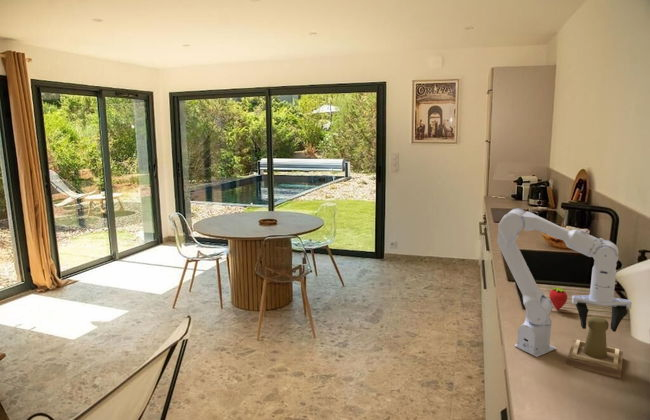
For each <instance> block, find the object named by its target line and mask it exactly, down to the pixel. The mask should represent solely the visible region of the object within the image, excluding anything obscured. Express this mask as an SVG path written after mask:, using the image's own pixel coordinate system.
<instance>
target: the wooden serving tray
mask: <svg viewBox="0 0 650 420" xmlns="http://www.w3.org/2000/svg"><path fill="white" fill-rule="evenodd" d="M585 342H586V340H581V339H576V340H574V339H573V340H572V343H571V346H570V348H569V352H568V355H567V360H566V365H567V366H571V367H574V368H579V369H583V370H586V371H590V372H594V373H598V374H602V375H607V376H609V377H613V376H614V377H613V378H617V377H618V379H620V378H621V377H622V371H623V370H622V369H623V360H624V359H623V358H624V351H621V350H620V349H619V348H616V347H612V346H608V345H607V357H606V358H604V359H598V358H593V357H590V356H588V355H586V354H585V353H584V352H583V350H584V346H585Z"/></svg>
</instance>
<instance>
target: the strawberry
mask: <svg viewBox="0 0 650 420" xmlns="http://www.w3.org/2000/svg"><path fill="white" fill-rule="evenodd" d="M549 289H550V291H549V294H548V295H549V300H550V301H551V302H552V305H553V307H554V308H555V309H556V310H557V311H559V310H561V308H563V307H564V305H565V304H566V303H567V302H568V301H567V300H568V294H567V292H566V289H565V288H560V286H558V287H557V288H555V287H550V288H549Z"/></svg>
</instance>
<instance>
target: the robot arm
mask: <svg viewBox="0 0 650 420" xmlns="http://www.w3.org/2000/svg"><path fill="white" fill-rule="evenodd" d="M497 225H498V226H497V228H498V230H497V231H498V232H497V239H496V243H497V246H498V249H499V250H500V252H501V255H502V257H503V258H504V261H505V262H506V265H507V267H508V268H509V271H510V273H511V275H512V277H513V279H514V280H515V282H516V284H517V286H518V288H519V290H520V293H521V295H522V301H523V306H524V308H525V319H524V322H523V323H522V324H521V325H519V326H518V330H517V341H516V343H515V344H514V347H515V348H517V349H519V350H522V351H523V352H526V353H528V354H530V355H532V356H534V357H536V358H538V357H540V356H542V355H545V354H547V353H550V352H552V351H555V350H556V349H557V348H556V346H553V345H552V344H551V336H552V335H551V334H552V319H551V317H550V314H551V312H552V311H553V307H554V305H553V303H552V302H551V300H550V298H549V297H547V296H546V295H545V293H544V292H543V290H542V289H541V288H539V286H538V284H537V282H536V281H535V278H534V276H533V274H532V272H531V270H530V268H529V266H528V265H527V262H526V260H525V258H524V256H523V254H522V252H521V250H520V248H519V245H518V244H517V242H516V241H517V239H518V237H519V235H520V232H521V231H522V230H523V229H524V230H523V231H524V232H530V231H539V232H541V233H543V234H546V235H548V236H551V237H552V238H553V237H554V238H556V239H559V240H562V241H563V242H564V244H565V247H567V248H568V249H571V250H573V251H575V252H578V253H580V254H582V255H584V256H586V257H589V258H593V260H594V261H593V266H592V269H591V278H590V279H591V280H590V289H589V294H584V295H583V294H581V295H571V304H573V305H575V307H576V309H577V313H578V315H579V319H580V326H581V328H582V329H583V330H586V329H587V320H588V319H587V317H588V313H589V308H588V305H591V306H604V307H611V319H610V320H611V322H610V330H611V331H612V332H613V333H614V332H615V333H616V332H617V329H618V327H619V325H620V323H621V322H622V320H623V319H624V317H626V316H627V314H628V311H629V310H628V309H630V310H631V309H632V305H633V304H632V301H631V300H630V299H625V298H619V297H615V295H614V294H615V288H616V287H615V286H616V279H617V269H616V268H617V263H618V261H619V258H620V257H619V248H618V246H617V245H616V244H615V243H614V242H612V241H611V240H609V239H606V240H605V239H604V238H602V237H600V238H597V237H595V236H594V235H591V234H588V233H587V231H586V229H585V230H584V229H580V230H579V229H578V228H577V229H571V230H569V229H567V228H565V227H562V226H560V225H558V224H556V223H554V222H552V221H549V220H547V219H546V218H544V217H541V216H539V215H537V214H535V213H533V212H531V211H525V210H524V209H522V208H520V207H518V208H513V209H511V210H509V211H508V212H507V213H506V214H504V215H503V216H502V218H501V220H500V221H499V223H498V224H497Z"/></svg>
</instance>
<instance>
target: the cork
mask: <svg viewBox="0 0 650 420" xmlns="http://www.w3.org/2000/svg"><path fill="white" fill-rule="evenodd" d="M587 327H588V332H587V336H586V340H585V341H586V342H585V346H584V350H583V352H584V353H585V354H586V355H588V356H590V357H593V358H598V359H604V358H606V357H607V346H608V345H607V331H608V329H609V322H608V320H607V319H605V318H604V317H601V316H590V317H589V318H588V319H587Z"/></svg>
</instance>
